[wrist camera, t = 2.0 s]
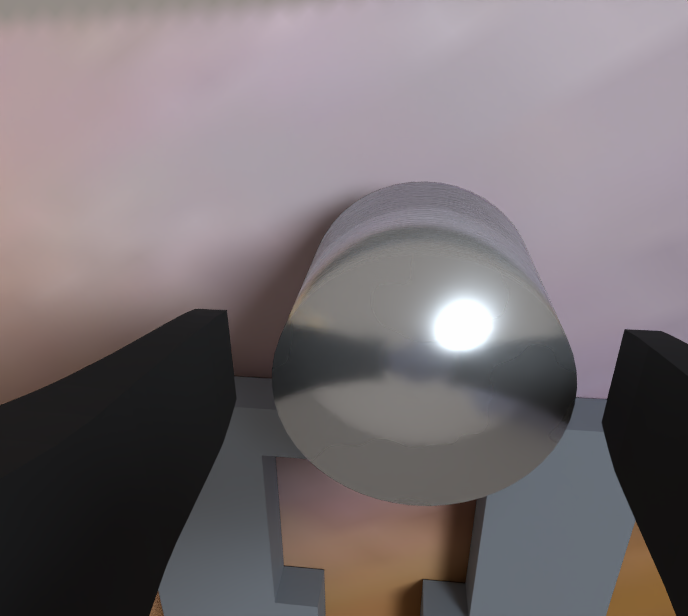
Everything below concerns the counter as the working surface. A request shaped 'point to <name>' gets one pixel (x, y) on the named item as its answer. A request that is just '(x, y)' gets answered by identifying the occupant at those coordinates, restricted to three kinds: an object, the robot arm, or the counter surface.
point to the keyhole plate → (437, 596)
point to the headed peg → (424, 351)
